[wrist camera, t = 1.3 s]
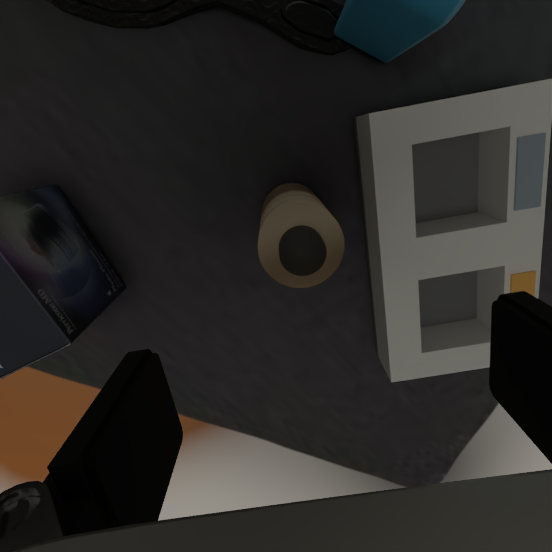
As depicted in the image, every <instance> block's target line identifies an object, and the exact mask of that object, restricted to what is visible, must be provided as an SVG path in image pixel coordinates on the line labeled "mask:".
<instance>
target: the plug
mask: <svg viewBox="0 0 552 552" xmlns="http://www.w3.org/2000/svg"><path fill="white" fill-rule="evenodd" d="M344 246H345V244H344V236H343V232H342V229H341V227H340V225H339V224H338V222H337V221H336V219H335V218H334V217H333V216H332V214H331V213H330V212H329V211H328V210H327V208H326V207H325V206H324V205H323V203H322V202H321V201H320V200H319V199H318V197H317V196H316V195H315V194H314V193H313V191H312V190H310V189H309V188H308V187H306V186H305V185H302V184H299V183H293V182H290V183H284V184H281V185H278V186H277V187H275V188H274V189H272V190H271V191H270V192H269V194H268V195H267V196H266V198H265V200H264V202H263V206H262V214H261V222H260V230H259V238H258V255H259V259H260V262H261V264H262V266H263V268H264V269H265V271H266V272H267V273H268V274H269V275H270V276H271V277H272V278H273V279H274V280H276V281H277V282H279V283H281V284H283V285H286V286H289V287H294V288H305V287H311V286H314V285H317V284H319V283H321V282H323V281H325V280H326V279H328V278H329V277H330V276H331V275H332V274H333V273H334V272H335V271H336V269H337V268H338V266H339V264H340V263H341V260H342V257H343V254H344Z"/></svg>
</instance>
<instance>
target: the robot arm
mask: <svg viewBox="0 0 552 552" xmlns="http://www.w3.org/2000/svg"><path fill="white" fill-rule="evenodd" d="M489 386H490V390H491V392H492V394H493V396H494V397H495V399H496V400H497V401H498V402H499V403H500V404H501V406H502V407H503V408H504V409H505V410H506V411H507V413H508V414H509V415H510V416H511V417H512V418H513V419H514V421H515V422H516V423H517V424H518V425H519V426H520V427H521V429H522V430H523V431H524V432H525V433H526V434H527V436H528V437H529V438H530V439H531V440H532V441H533V443H534V444H535V445H536V446H537V447H538V448H539V449H540V451H541V452H542V453H543V454H544V455H545V456H546V457H547V459H548V460H549V461H550V462H551V463H552V307H551V306H550V305H548V304H546V303H544V302H543V301H541V300H539V299H538V298H536V297H534V296H533V295H531V294H529V293H527V292H525V291H520V292H513V293H507V294H501V295H499V296H498V299H497V300H496V301H494V302H493V303H492V307H491V341H490V376H489ZM182 437H183V431H182V427H181V423H180V420H179V417H178V414H177V411H176V407H175V404H174V401H173V398H172V395H171V392H170V389H169V386H168V383H167V379H166V376H165V373H164V370H163V367H162V364H161V361H160V358H159V355H158V354H157V353H152V352H151V350H149V349H146V350H139V351H133V352H128V353H127V354H126V355H125V357H124V358H123V360H122V361H121V362H120V364H119V365H118V367H117V368H116V370H115V371H114V372H113V374H112V375H111V377H110V378H109V380H108V381H107V382H106V384H105V385H104V387H103V388H102V390H101V391H100V393H99V394H98V395H97V397H96V398H95V400H94V401H93V403H92V404H91V405H90V407H89V408H88V410H87V411H86V412H85V414H84V415H83V417H82V418H81V420H80V421H79V422H78V424H77V426H76V427H75V429H74V430H73V431H72V433H71V434H70V435H69V437H68V438H67V440H66V441H65V442H64V444H63V445H62V447H61V448H60V450H59V451H58V452H57V454H56V455H55V457H54V458H53V460H52V461H51V463H50V464H49V465H48V467H47V468H48V470H49V472H50V473H49V474H48V476H47V477H46V479H45V480H44V481H43V483H42V482H39V481H31V482H26V483H22V484H19V485H16V486H14V487H12V488H10V489H8V490H6V491H4V492H2V493H1V494H0V552H552V469H551V470H543V471H535V472H527V473H519V474H511V475H503V476H495V477H486V478H478V479H470V480H462V481H454V482H446V483H438V484H430V485H423V486H415V487H407V488H400V489H392V490H384V491H376V492H369V493H361V494H353V495H346V496H338V497H330V498H323V499H315V500H308V501H300V502H292V503H285V504H278V505H270V506H263V507H256V508H248V509H242V510H234V511H226V512H219V513H212V514H205V515H197V516H190V517H182V518H175V519H168V520H160V521H158V518H159V514H160V511H161V508H162V504H163V502H164V498H165V495H166V492H167V488H168V485H169V482H170V479H171V475H172V472H173V469H174V466H175V463H176V459H177V456H178V453H179V450H180V446H181V443H182V439H183V438H182Z"/></svg>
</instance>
